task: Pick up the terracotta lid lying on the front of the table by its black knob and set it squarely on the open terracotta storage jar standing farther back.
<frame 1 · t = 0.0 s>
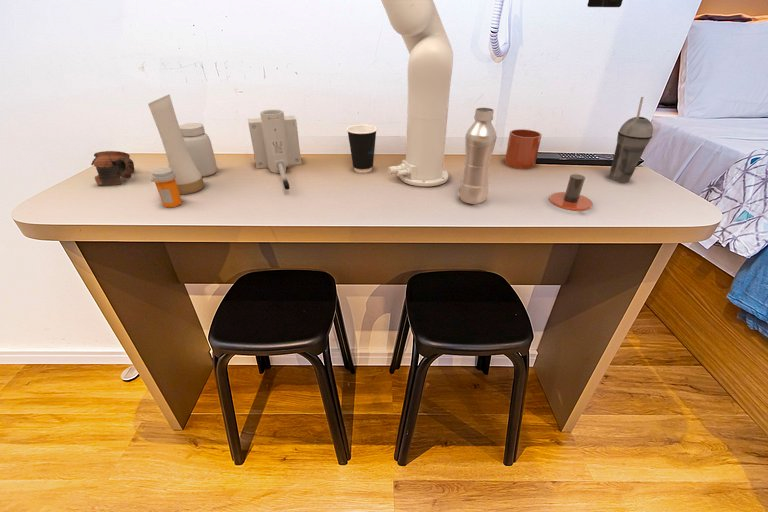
hand: (602, 7, 75), 37 cm above the table, tool pointing down, fingers open, 9 cm apart
pottery mug: (120, 180, 98), on the table
electronic device: (282, 177, 100), on the table
dixie cup: (363, 170, 105), on the table
storage jar: (519, 163, 109), on the table
toiletry set: (190, 186, 95), on the table
jar lid: (570, 202, 86), point 1 cm above the table
metal water bottle: (471, 202, 88), on the table
beverage cup: (618, 180, 99), on the table
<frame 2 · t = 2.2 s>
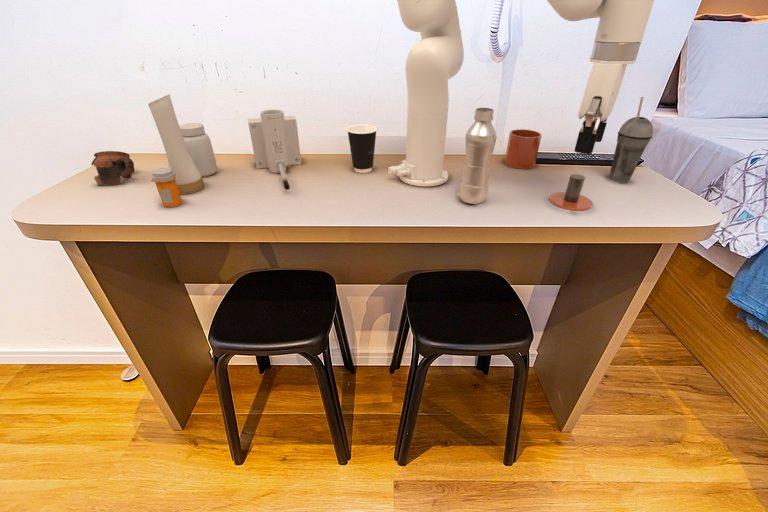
hand: (588, 146, 79), 13 cm above the table, tool pointing down, fingers open, 9 cm apart
nothing on the table moved.
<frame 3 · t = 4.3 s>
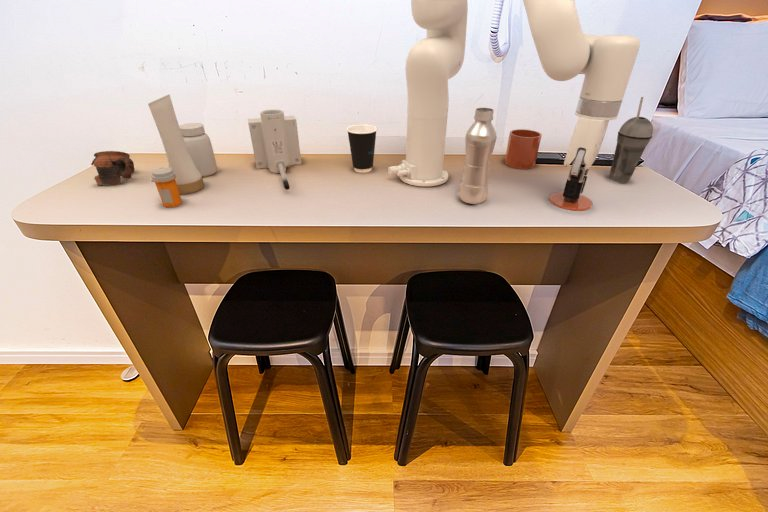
hand: (572, 194, 85), 3 cm above the table, tool pointing down, fingers closed on jar lid, 3 cm apart
jar lid: (570, 202, 86), point 1 cm above the table, touching gripper
everything else where it was.
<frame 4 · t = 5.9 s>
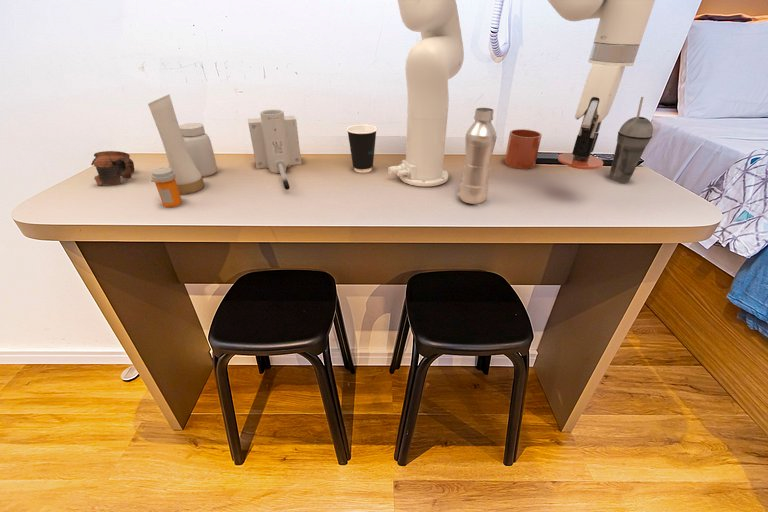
hand: (582, 152, 80), 12 cm above the table, tool pointing down, fingers closed on jar lid, 3 cm apart
jar lid: (579, 161, 81), point 10 cm above the table, touching gripper
everything else where it was.
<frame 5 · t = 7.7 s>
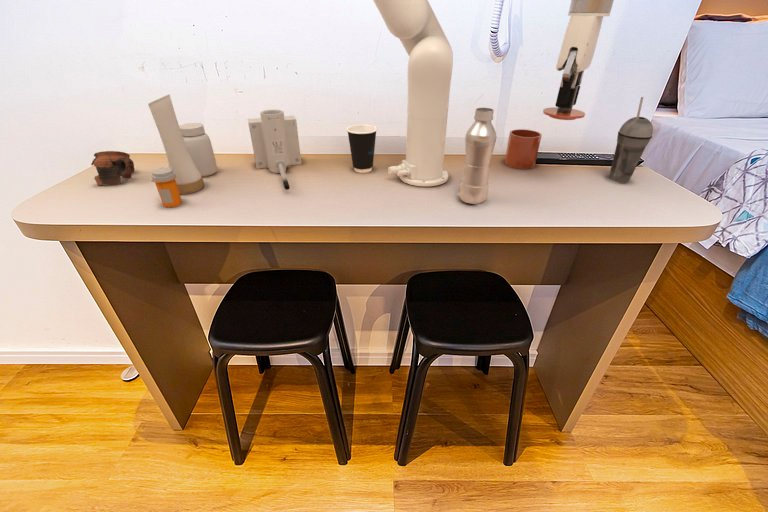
hand: (565, 105, 85), 19 cm above the table, tool pointing down, fingers closed on jar lid, 3 cm apart
jar lid: (563, 114, 86), point 17 cm above the table, touching gripper
everything else where it was.
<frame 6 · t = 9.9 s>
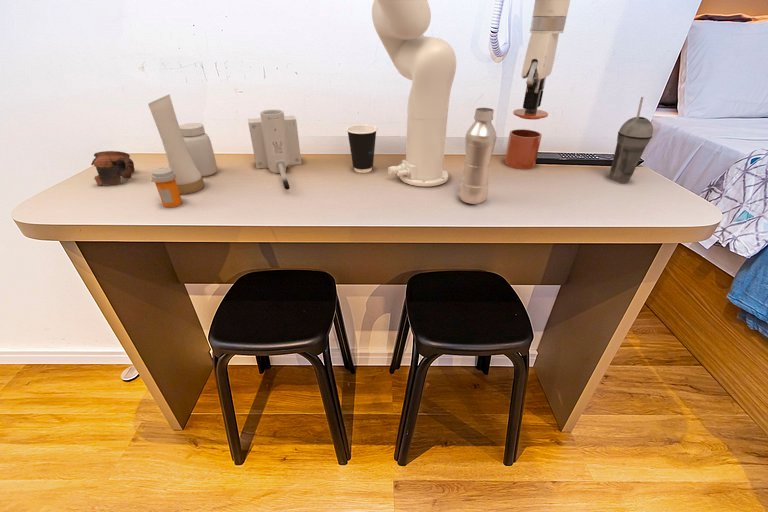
hand: (531, 106, 100), 15 cm above the table, tool pointing down, fingers closed on jar lid, 3 cm apart
jar lid: (530, 114, 101), point 13 cm above the table, touching gripper
everything else where it was.
when the fingers open (10 cm above the table, at t = 11.3 s): jar lid stays where it is, resting on storage jar.
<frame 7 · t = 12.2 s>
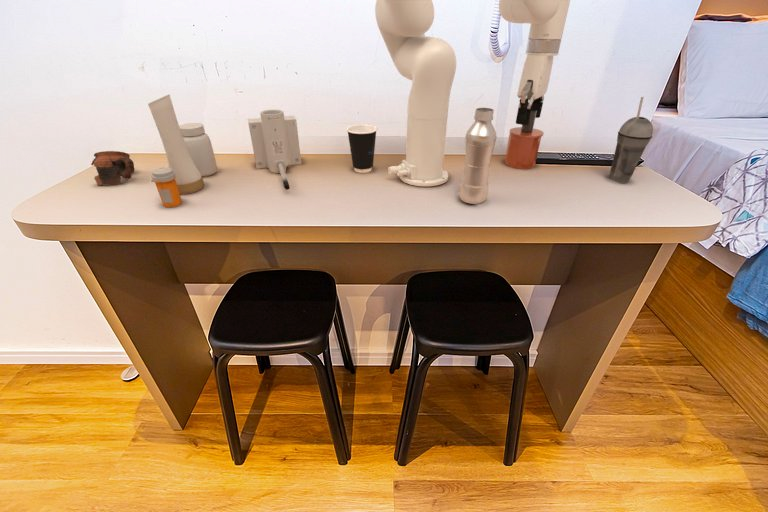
hand: (527, 120, 102), 12 cm above the table, tool pointing down, fingers open, 9 cm apart
jar lid: (526, 133, 104), point 8 cm above the table, touching storage jar
everything else where it was.
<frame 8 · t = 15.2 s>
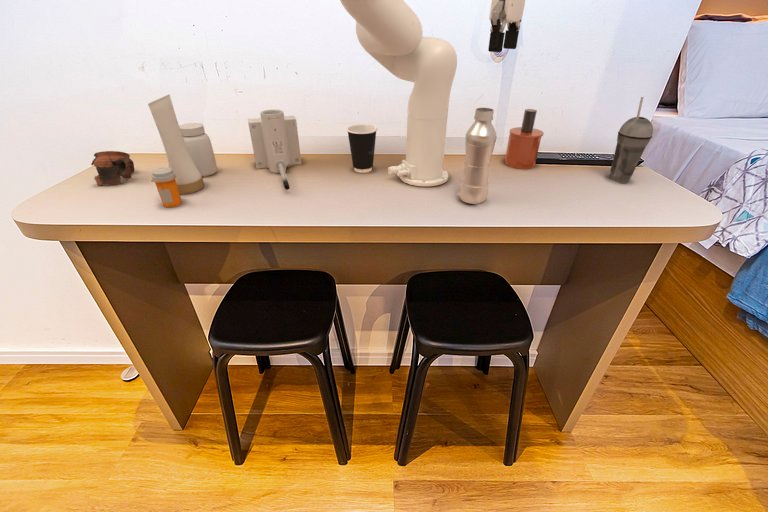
hand: (502, 50, 94), 28 cm above the table, tool pointing down, fingers open, 9 cm apart
nothing on the table moved.
at the end: jar lid 0.2 cm off-centre on the storage jar, point 8.5 cm above the storage jar's base; jar lid tilted 0°; the gripper is holding nothing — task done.
